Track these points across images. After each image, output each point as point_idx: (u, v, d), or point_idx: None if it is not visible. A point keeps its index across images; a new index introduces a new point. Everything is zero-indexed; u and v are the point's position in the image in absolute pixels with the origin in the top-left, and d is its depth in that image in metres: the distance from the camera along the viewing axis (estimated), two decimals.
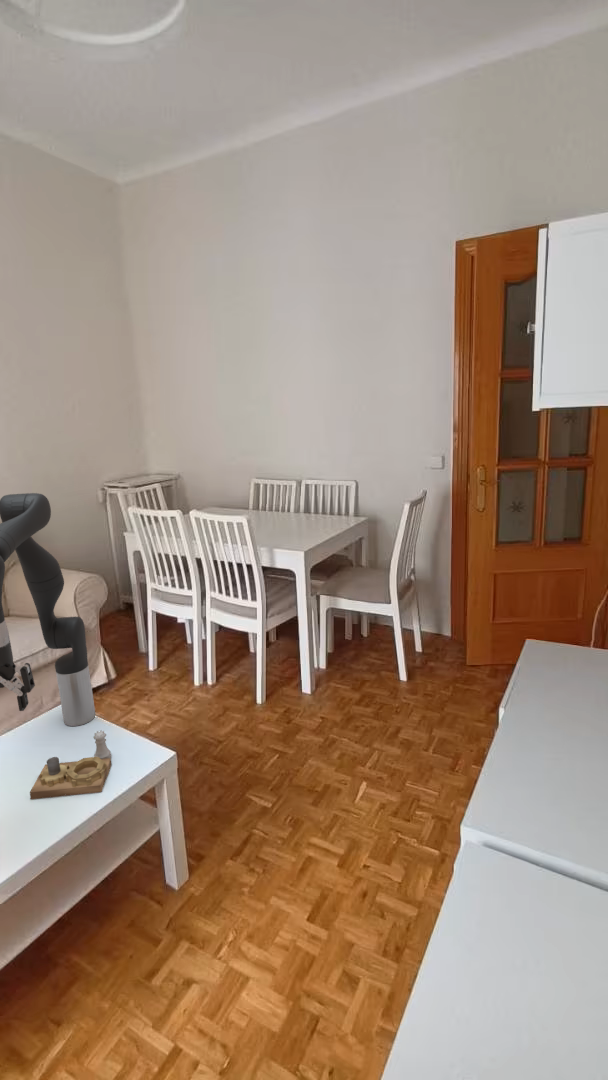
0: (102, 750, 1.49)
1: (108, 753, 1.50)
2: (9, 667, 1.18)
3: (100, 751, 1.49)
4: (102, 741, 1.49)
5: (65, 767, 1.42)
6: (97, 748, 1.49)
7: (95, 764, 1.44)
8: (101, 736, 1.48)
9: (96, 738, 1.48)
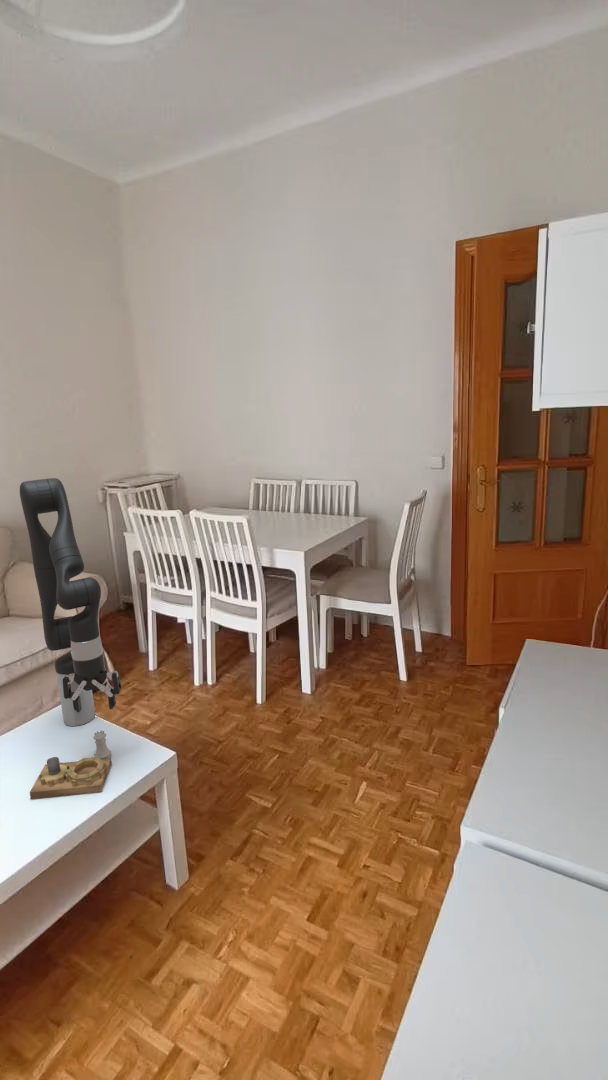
0: (102, 750, 1.49)
1: (108, 753, 1.50)
2: (102, 673, 1.44)
3: (100, 751, 1.49)
4: (102, 741, 1.49)
5: (65, 767, 1.42)
6: (97, 748, 1.49)
7: (95, 764, 1.44)
8: (101, 736, 1.48)
9: (96, 738, 1.48)
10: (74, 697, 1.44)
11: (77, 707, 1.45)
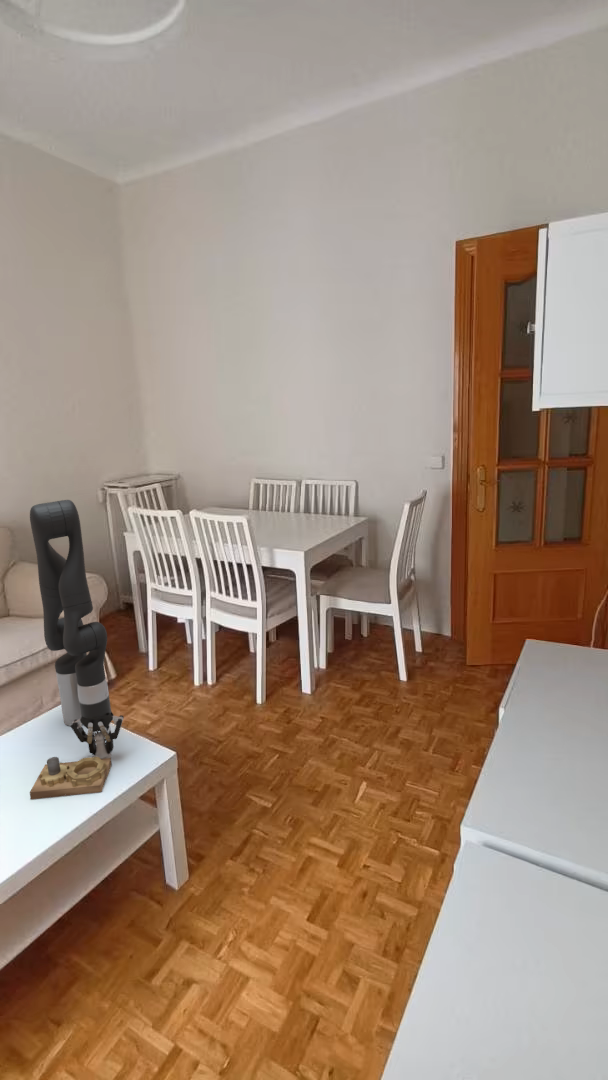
0: (102, 750, 1.49)
1: None
2: (109, 715, 1.47)
3: (100, 751, 1.49)
4: (102, 741, 1.49)
5: (65, 767, 1.42)
6: (97, 748, 1.49)
7: (95, 764, 1.44)
8: (101, 736, 1.48)
9: (96, 738, 1.48)
10: (90, 741, 1.48)
11: (92, 750, 1.49)
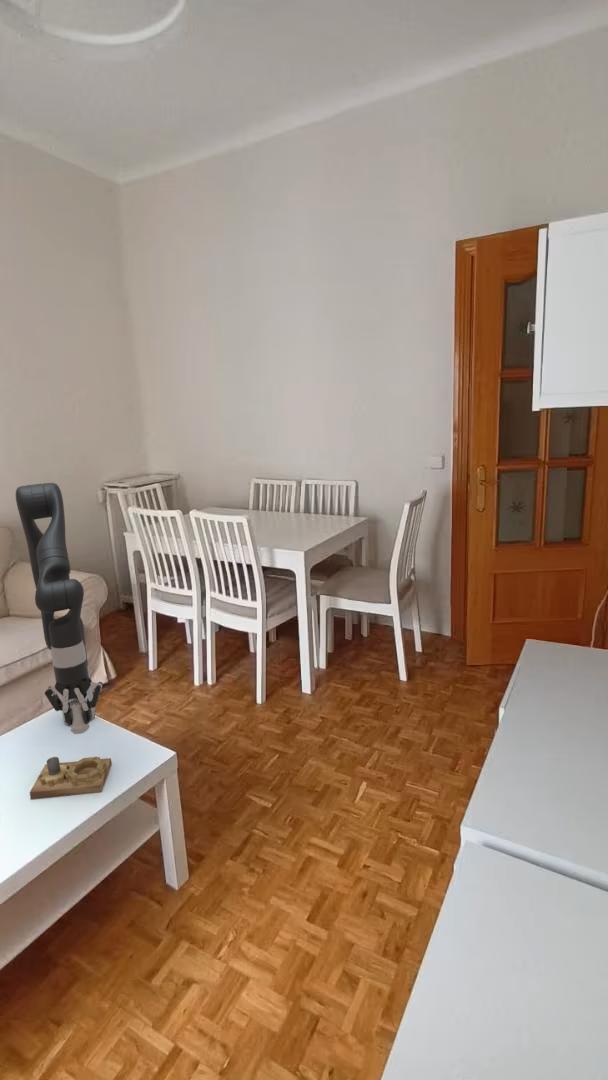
0: (79, 719, 1.36)
1: (85, 724, 1.37)
2: (86, 681, 1.35)
3: (76, 720, 1.36)
4: (79, 710, 1.36)
5: (65, 767, 1.42)
6: (74, 718, 1.37)
7: (95, 764, 1.44)
8: (78, 704, 1.36)
9: (72, 706, 1.35)
10: (65, 709, 1.36)
11: (69, 720, 1.36)
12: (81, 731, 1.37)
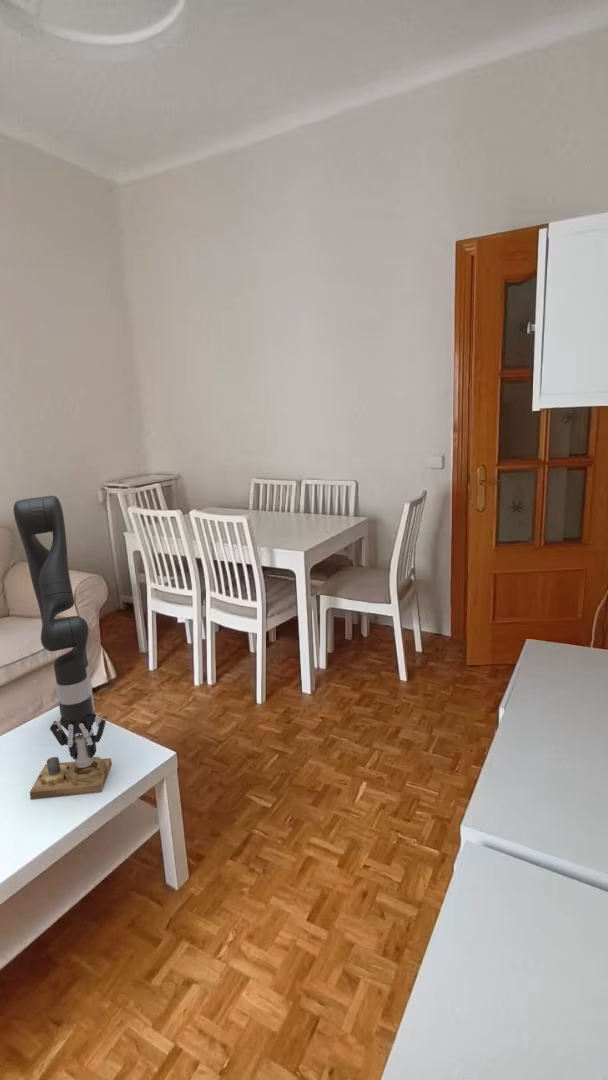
0: (83, 753, 1.39)
1: (90, 758, 1.40)
2: (90, 716, 1.37)
3: (81, 755, 1.39)
4: (84, 744, 1.38)
5: (65, 767, 1.42)
6: (78, 752, 1.39)
7: (95, 764, 1.44)
8: (82, 739, 1.38)
9: (77, 741, 1.38)
10: (70, 744, 1.38)
11: (73, 754, 1.39)
12: (86, 765, 1.39)
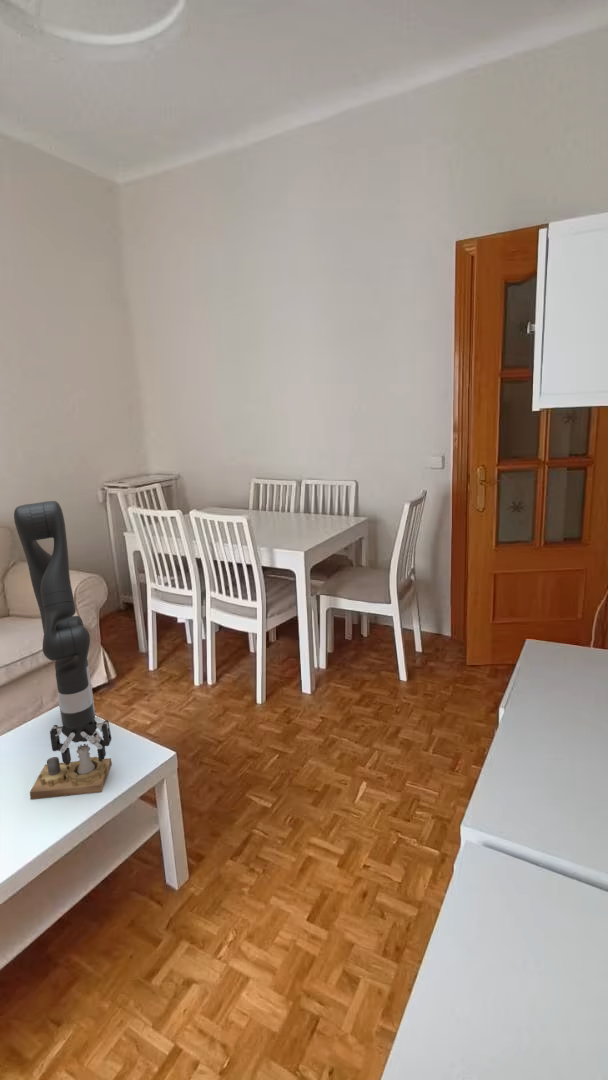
0: (85, 764, 1.40)
1: (92, 768, 1.41)
2: (92, 724, 1.37)
3: (83, 766, 1.39)
4: (86, 755, 1.39)
5: (65, 767, 1.42)
6: (80, 763, 1.40)
7: (95, 764, 1.44)
8: (84, 750, 1.39)
9: (79, 752, 1.39)
10: (63, 749, 1.38)
11: (66, 760, 1.39)
12: None
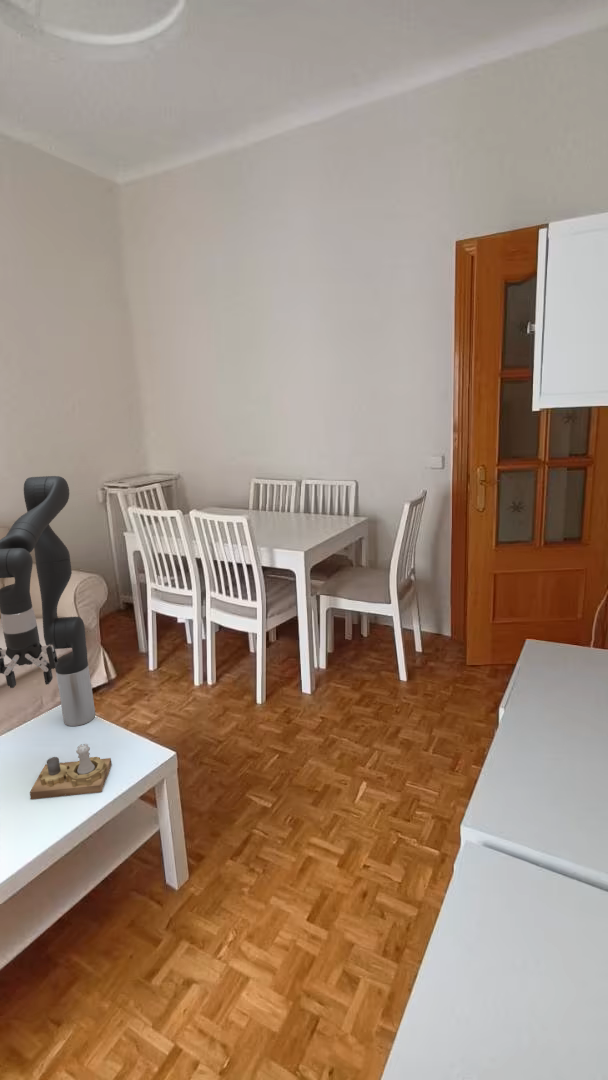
0: (85, 764, 1.40)
1: (92, 768, 1.41)
2: (37, 647, 1.37)
3: (83, 766, 1.39)
4: (85, 755, 1.39)
5: (65, 767, 1.42)
6: (80, 763, 1.40)
7: (95, 764, 1.44)
8: (84, 750, 1.39)
9: (79, 752, 1.39)
10: (7, 672, 1.38)
11: (10, 682, 1.39)
12: None
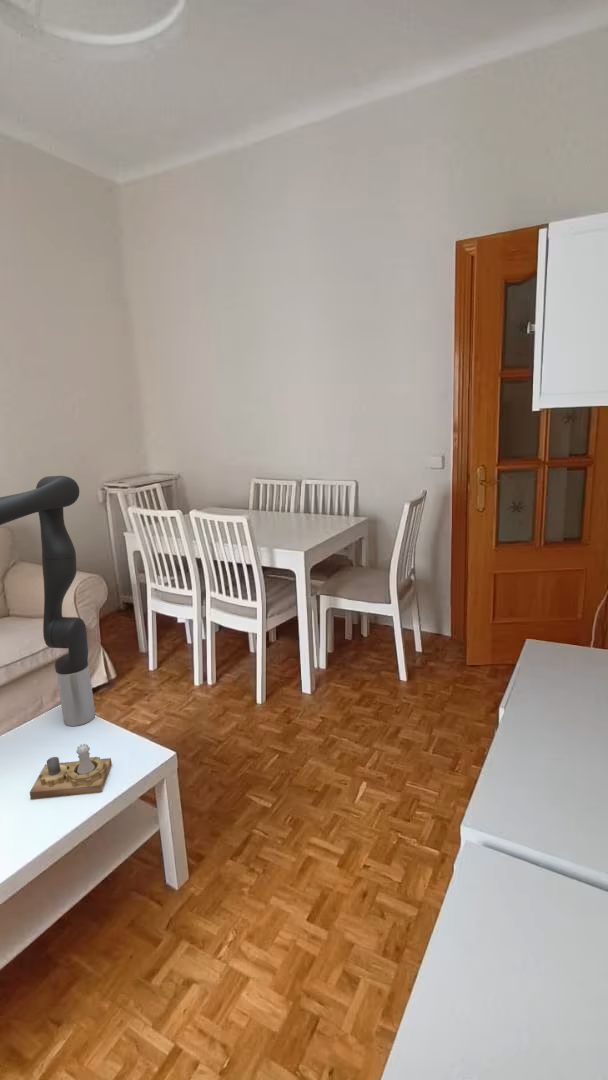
0: (85, 764, 1.40)
1: (92, 768, 1.41)
2: None
3: (83, 766, 1.39)
4: (85, 755, 1.39)
5: (65, 767, 1.42)
6: (80, 763, 1.40)
7: (95, 764, 1.44)
8: (84, 750, 1.39)
9: (79, 752, 1.39)
10: None
11: None
12: None
